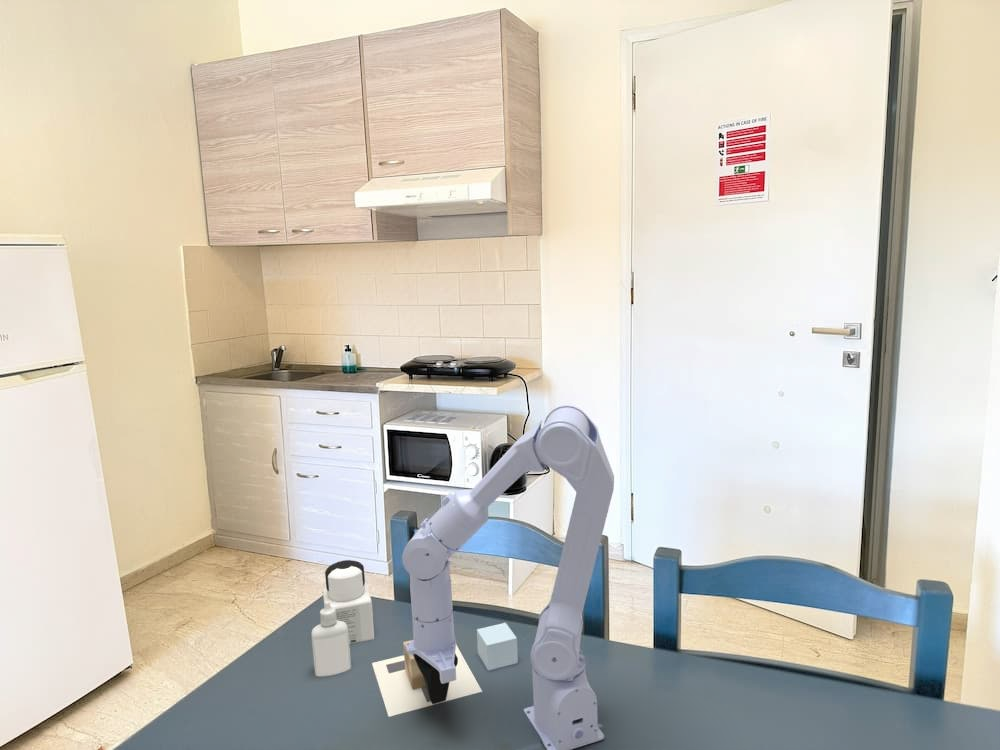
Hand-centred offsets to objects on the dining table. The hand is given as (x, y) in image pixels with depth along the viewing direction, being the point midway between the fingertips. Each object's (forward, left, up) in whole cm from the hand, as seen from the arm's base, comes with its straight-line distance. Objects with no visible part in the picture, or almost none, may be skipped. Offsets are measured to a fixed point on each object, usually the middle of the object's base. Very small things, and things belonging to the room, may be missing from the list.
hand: (437, 699), depth 95 cm
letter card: (+8, 0, -2) cm, 8 cm away
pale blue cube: (+8, -12, -2) cm, 15 cm away
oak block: (+8, 0, -1) cm, 8 cm away
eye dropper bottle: (+16, +13, -2) cm, 21 cm away
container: (+26, +9, -2) cm, 28 cm away
